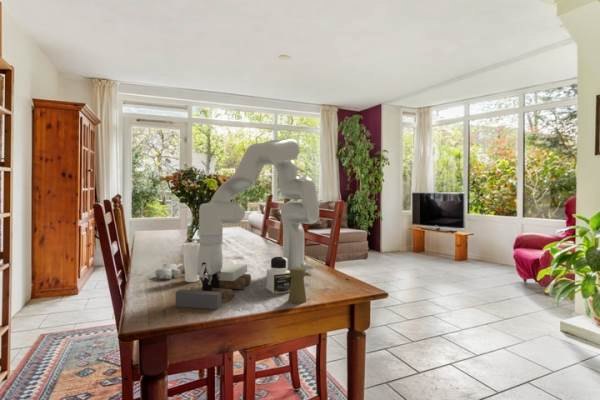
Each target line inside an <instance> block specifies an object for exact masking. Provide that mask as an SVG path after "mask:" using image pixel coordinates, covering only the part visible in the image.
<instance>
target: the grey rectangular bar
mask: <svg viewBox="0 0 600 400" xmlns="http://www.w3.org/2000/svg"><path fill="white" fill-rule="evenodd" d="M222 303H223V302H222V292H212V291H198V290H190V289H185V288H184V289H179V290H177V291H175V307H180V308H181V307H183V308H195V309H204V310H205V309H206V310H216V311H217V310H219V309H220V308H222V305H223V304H222Z"/></svg>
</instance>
